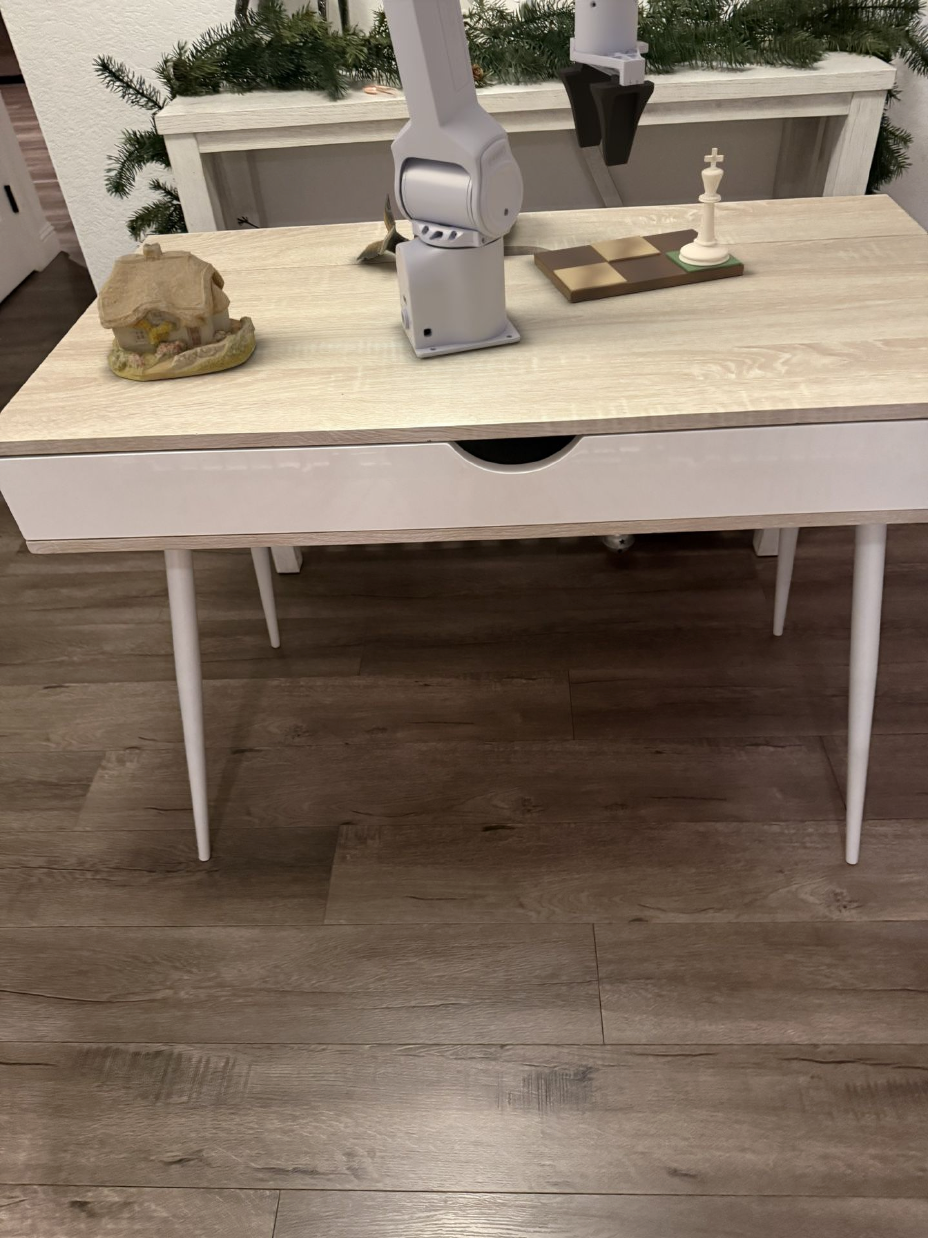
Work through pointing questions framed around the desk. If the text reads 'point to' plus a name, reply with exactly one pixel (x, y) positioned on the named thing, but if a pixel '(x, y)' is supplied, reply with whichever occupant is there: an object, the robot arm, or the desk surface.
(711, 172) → the chess piece
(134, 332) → the ceramic model
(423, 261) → the robot arm
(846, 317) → the desk surface
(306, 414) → the desk surface
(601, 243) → the board
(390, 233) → the brown pointed piece
